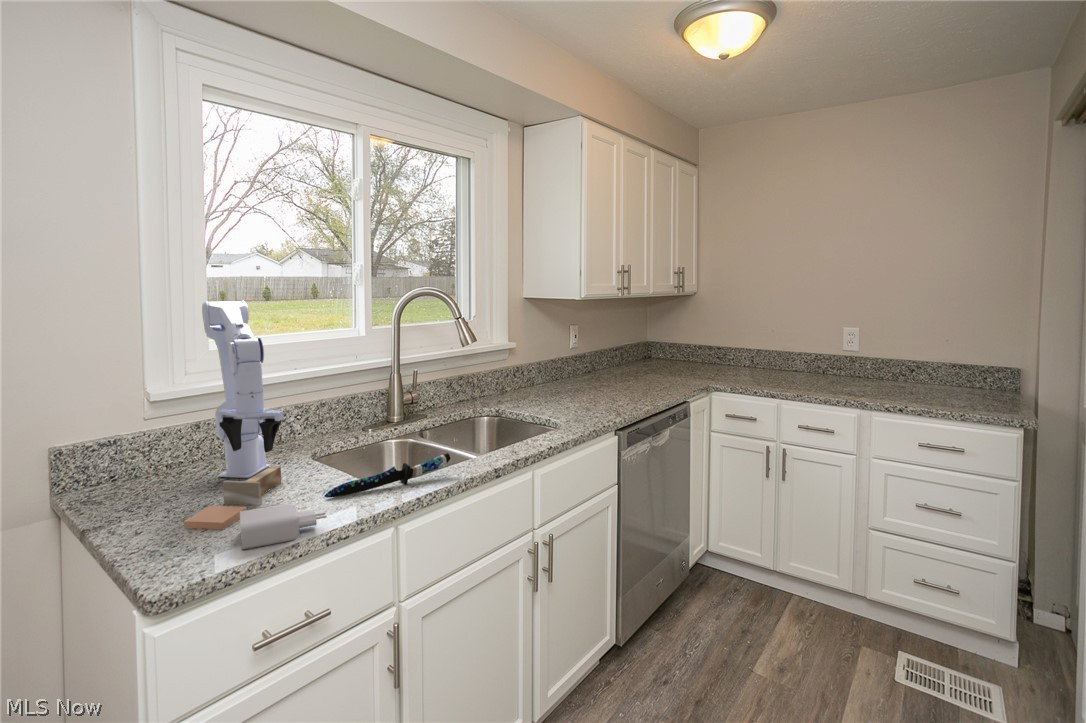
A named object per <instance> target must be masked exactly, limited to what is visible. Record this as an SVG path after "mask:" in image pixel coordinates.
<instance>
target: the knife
mask: <svg viewBox="0 0 1086 723" xmlns="http://www.w3.org/2000/svg"><path fill="white" fill-rule="evenodd" d="M450 460H451V456H450V453H444V454H441V455H439V456H436V457H433V458H431V459H428V460H426V461H424V462H422V463H419V464H416V465H414V466H410V465H409V464H408V463H406V462H405V463H402V467H401V470H397V469H396V468H395V467H396V466H392V467H391V468H389V469H388V470H385V471H384V472H382V473H378V474H374V475H371V476H367V477H364V478H359V479H355V480H350V481H347V482H344V483H342V484H340V485H337V486H336V487H334V488H332V489H330V490H328V491H327V492H326V494H324V498H326V499H327V498H339V497H343V496H348V495H353V494H357V493H362V492H366V491H370V490H373V489H377V488H379V487H384V486H387V485H390V484H392V483H395V482H398V481H400V482H401V484H402V485H404V486H407V485H408V483H409V482H408V481H409V480H410V479H411V478H414V477H418V476H420V475H423V474H427V473H429V472H433V471H436V470H438V469H441V468H445V467H446V466H447V465H448V463H449V462H450Z"/></svg>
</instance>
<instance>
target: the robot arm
mask: <svg viewBox="0 0 1086 723" xmlns="http://www.w3.org/2000/svg"><path fill="white" fill-rule="evenodd" d="M249 312H250V311H249V307H248V303H247V302H246V301H245V300H237V301H236V300H235V301H233V300H232V301H229V300H228V301H225V300H224V301H208V300H204V302H203V303H202V306H201V315H202V322H203V327H204V333H205V334H206V338H209V339H211V340H213V341H214V342H215V345H216V349H217V352H218V357H219V364H220V371H221V372H220V373H221V378H222V383H223V384H222V385H223V389H224V390H223V391H224V396H225V401H224V402H222V403H221V404H220V405H218V406H217V408H216V410H215V429H216V434H217V435H216V436H217V437H218V438H219V439H220V440H223V442H224V455H225V457H224V458H225V468H226V471H223V472H221V473H219V474H218V477H219V478H240V479H241V478H243V479H245V478H246V479H250V478H251V477H253V476H255V475H257V474H258V473H260V472H262V471H264V470H265V469H267V468H269V467H271V466H270V464H269V463H267V456H266V455H267V454H266V453H269V452H271V451H273V449H274V444H275V440H276V436H277V433H278V429H279V428H280V426H281V425H282V421H283V420H284V419H285V418H284V410H275V409H267V408H265V402H264V384H263V382H264V381H263V370H262V369H263V368H262V364H263V363H264V360H265V348H264V344H263V341H262V338H261V337H255V334H254V333H253V331H252V329H251V327H250V325H248V323H249V320H250V319H249V318H250V314H249ZM261 434H262V436H261Z"/></svg>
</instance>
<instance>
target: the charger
mask: <svg viewBox="0 0 1086 723" xmlns="http://www.w3.org/2000/svg"><path fill="white" fill-rule="evenodd" d="M326 518H327V515H326V512H319V513H316V512H315V511H314V509H312V510H311V509H310V510H307V511H305V510H304V511H299V512H298V510H297V507H296V505H295V504H292V503H284V504H278V505H271V506H266V507H259V508H252V509H247V510H246V511H240V518H239V521H240V522H239V524H240V541H241V550H242V551H244V550H250V549H255V548H258V547H259V548H261V547H264V546H270V545H274V544H275V545H277V544H283V543H286V542H290V541H291V542H292V541H295V540H297V539H298V538H299V537H300V535H301V534H300V529H301V528H307V527H313V526H317V520H321V519H326Z"/></svg>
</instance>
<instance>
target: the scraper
mask: <svg viewBox="0 0 1086 723" xmlns="http://www.w3.org/2000/svg"><path fill="white" fill-rule="evenodd" d="M281 482H282V470H281V466H273V465H271V466H269V467H267V468H265V469H263V470H262V471H260V472H258V473H256V474H255V475H253V476H251V477H249V478H247V479H246V480H244V481H243V480H223V481H222V489H223V490H222V491H223V504H224V503H229V504H228V505H244V504H251V506H260V505H262V496H263V495H264V494H266V493H267V492H269V491H270V490H269V489H271V488H272V489H273V487H274V486H275V487H277V486H278V485H280V484H281ZM279 483H280V484H279ZM277 484H278V485H277ZM276 485H277V486H276ZM275 487H274V488H275ZM272 489H271V490H272ZM268 490H269V491H268ZM266 491H267V492H266ZM265 492H266V493H265ZM263 493H264V494H263ZM262 494H263V495H262Z"/></svg>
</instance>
